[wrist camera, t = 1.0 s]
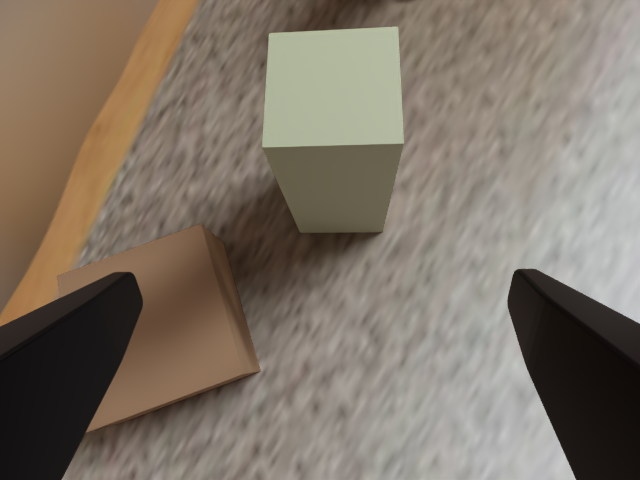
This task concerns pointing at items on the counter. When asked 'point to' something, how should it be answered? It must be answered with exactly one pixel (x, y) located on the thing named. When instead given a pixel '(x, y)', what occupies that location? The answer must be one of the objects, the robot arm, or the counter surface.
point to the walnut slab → (173, 324)
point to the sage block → (334, 125)
